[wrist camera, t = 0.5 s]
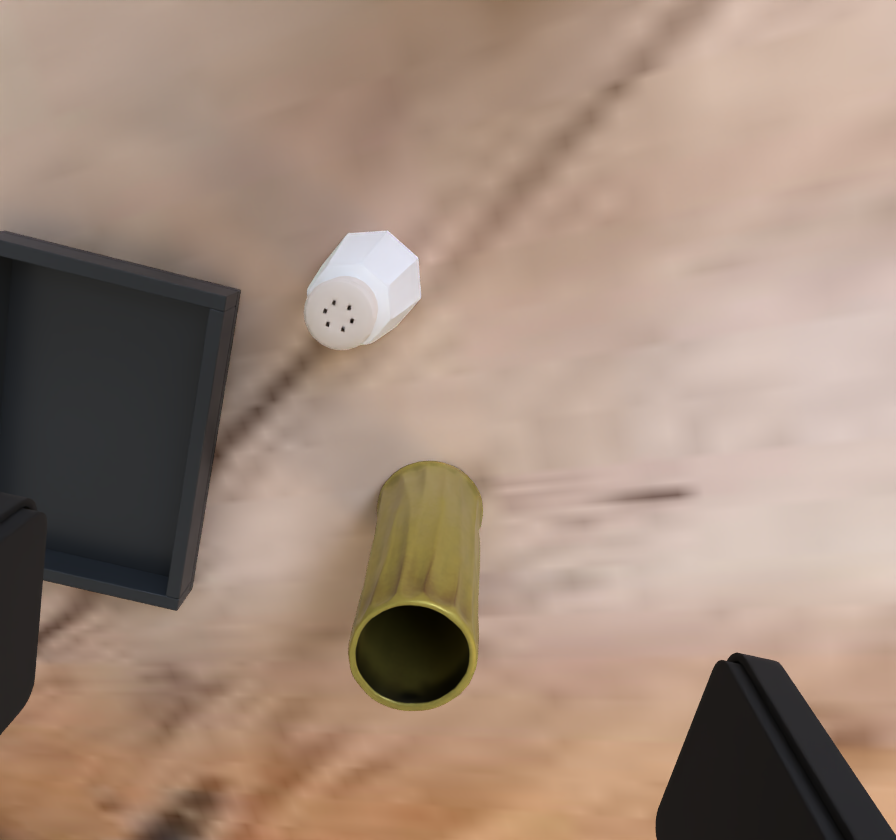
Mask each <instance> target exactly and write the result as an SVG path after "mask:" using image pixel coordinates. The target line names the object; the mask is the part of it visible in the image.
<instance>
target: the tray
mask: <svg viewBox="0 0 896 840" xmlns="http://www.w3.org/2000/svg"><path fill="white" fill-rule="evenodd" d="M240 292H241V290H239V289H235V288H231V287H227V286H223V285H219V284H215V283H211V282H207V281H203V280H199V279H195V278H191V277H187V276H183V275H179V274H175V273H171V272H167V271H163V270H159V269H155V268H151V267H147V266H143V265H139V264H135V263H131V262H127V261H123V260H119V259H115V258H111V257H107V256H103V255H99V254H95V253H91V252H88V251H84V250H80V249H76V248H72V247H68V246H64V245H60V244H56V243H52V242H48V241H44V240H40V239H36V238H32V237H28V236H24V235H20V234H16V233H12V232H8V231H0V492H3V493H7V494H12V495H16V496H21V497H26V498H30V499H32V500H33V501H34V502H35V503H36V507H37V511H39V512H43V513H44V514H45V515H46V517H47V535H46V548H45V560H44V572H43V580H44V581H49V582H53V583H58V584H62V585H66V586H71V587H75V588H79V589H84V590H88V591H93V592H97V593H101V594H106V595H110V596H114V597H119V598H123V599H128V600H132V601H136V602H141V603H145V604H149V605H154V606H158V607H163V608H167V609H171V610H176V611H177V610H178V609H179V607H180V606H181V604H182V603H183V601H184V600H185V598H186V597H187V595H188V594H189V592H190V591H191V590H192V587H193V581H194V575H195V569H196V562H197V556H198V550H199V544H200V538H201V532H202V526H203V519H204V513H205V507H206V501H207V495H208V489H209V483H210V477H211V470H212V464H213V458H214V452H215V446H216V440H217V434H218V427H219V421H220V415H221V409H222V403H223V397H224V391H225V384H226V378H227V372H228V366H229V360H230V354H231V348H232V341H233V335H234V329H235V323H236V317H237V311H238V305H239V298H240Z"/></svg>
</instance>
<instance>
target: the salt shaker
mask: <svg viewBox="0 0 896 840" xmlns="http://www.w3.org/2000/svg"><path fill="white" fill-rule="evenodd" d="M420 299H421V286H420V272H419V258H418V257H417V256H416V255H415V254H414V253H412V252H411V251H410V250H409V249H408V248H407V247H406V246H405V245H404V244H402V243H401V242H400V241H399V240H398V239H397V238H396V237H395V236H393V235H392V234H391V233H390V232H389V231H373V232H357V233H348V234H347V235H346V236H345V237H344V238H343V240H342V241H341V242H340V243H339V245H338V246H337V247H336V248H335V249H334V251H333V252H332V253H331V254H330V256H329V257H328V258H327V259H326V261H325V262H324V263H323V264H322V266H321V268H320V269H319V271H318V272H317V274H316V276H315V277H314V279H313V280H312V282H311V284H310V285H309V287H308V289H307V300H306V302H305V307H304V319H305V323H306V326H307V328H308V331H309V332H310V334H311V335H312V336H313V338H314V339H315V340H317V341H318V342H319V343H320V344H322V345H324V346H326V347H328V348H330V349H335V350H349V349H352V348H355V347H357V346H359V345H366V344H371V343H373V342H375V341H376V340H378V339H379V338H380V337H382V336H383V335H385V334H386V333H388V332H389V331H391V330H392V329H394V328H395V327H396V326H397V325H398V324H399V323H400V322H401V321H402V320H403V318H404V317H405V316H406V315H407V314H408V313H409V311H410V310H411V309H412V308H413V307H414V306H415V305H416V303H417V302H418V301H419V300H420Z"/></svg>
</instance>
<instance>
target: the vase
mask: <svg viewBox="0 0 896 840" xmlns="http://www.w3.org/2000/svg"><path fill="white" fill-rule="evenodd" d="M482 516H483V506H482V500H481V496H480V493H479V491H478V489H477V487H476V486H475V484H474V483H473V482H472V481H471V479H470V478H469V477H468V476H467V475H466V474H464V473H463V472H462V471H461V470H459V469H457V468H455V467H454V466H451V465H448V464H445V463H441V462H436V461H423V462H417V463H413V464H410V465H407V466H405V467H403V468H401V469H400V470H398V471H397V472H395V473H394V474H393V475H392V476H391V477H390V478H389V479H388V480H387V481H386V483H385V484H384V485H383V487H382V489H381V492H380V495H379V499H378V504H377V523H376V529H375V535H374V539H373V543H372V546H371V551H370V555H369V560H368V565H367V570H366V575H365V581H364V585H363V589H362V592H361V595H360V599H359V603H358V607H357V612H356V616H355V619H354V623H353V627H352V632H351V636H350V640H349V648H348V655H349V663H350V669H351V672H352V675H353V677H354V679H355V680H356V682H357V683H358V684H359V685H360V687H361V688H362V689H363V690H364V691H365V692H366V694H368V695H369V696H370V697H371V698H372V699H374V700H375V701H377V702H378V703H381V704H383V705H385V706H387V707H390V708H393V709H397V710H403V711H423V710H429V709H433V708H436V707H439V706H441V705H444V704H446V703H447V702H449V701H451V700H452V699H454V698H455V697H457V696H458V695H460V694H461V692H462V691H463V690H464V689H465V688H466V687H467V686H468V685H469V683H470V681H471V679H472V676H473V674H474V672H475V669H476V665H477V659H478V644H479V624H478V594H479V569H480V538H479V529H480V527H481V523H482Z"/></svg>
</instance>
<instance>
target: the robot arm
mask: <svg viewBox="0 0 896 840" xmlns="http://www.w3.org/2000/svg"><path fill="white" fill-rule="evenodd" d="M46 535H47V517H46V515H45V514H44V513H43V512H39V511H37V507H36V503H35V502H34V501H33V500H32V499H30V498H26V497H21V496H16V495H12V494H7V493H3V492H0V735H1V734H2V732H3V731H4V730H5V729H6V728H7V727H8V725H9V724H10V723H11V722H12V721H13V720H14V718H15V717H16V716H17V715H18V714H19V713H20V711H21V710H22V709H23V707H24V706H25V704H26V703H27V701H28V699H29V697H30V694H31V692H32V689H33V685H34V680H35V669H36V657H37V645H38V633H39V621H40V609H41V596H42V584H43V572H44V560H45V548H46ZM656 837H657V840H896V835H895V833H894V832H893V830H892V829H891V827H890V826H889V824H888V823H887V821H886V820H885V818H884V817H883V815H882V814H881V812H880V811H879V810H878V808H877V807H876V805H875V804H874V802H873V801H872V799H871V798H870V796H869V795H868V793H867V792H866V790H865V789H864V787H863V786H862V784H861V783H860V781H859V780H858V778H857V777H856V775H855V774H854V772H853V771H852V769H851V768H850V766H849V765H848V763H847V762H846V760H845V759H844V757H843V756H842V754H841V753H840V751H839V750H838V748H837V747H836V746H835V744H834V743H833V741H832V740H831V738H830V737H829V735H828V734H827V732H826V731H825V729H824V728H823V726H822V725H821V723H820V722H819V720H818V719H817V717H816V716H815V714H814V713H813V711H812V710H811V708H810V707H809V705H808V704H807V702H806V701H805V699H804V698H803V696H802V695H801V693H800V692H799V690H798V689H797V687H796V686H795V684H794V683H793V682H792V680H791V679H790V677H789V676H788V674H787V673H786V671H785V670H784V668H783V667H782V666H781V665H780V663H779V662H777V661H773V660H769V659H764V658H759V657H755V656H750V655H746V654H741V653H734V654H732V655H731V656H730V657H729V658H728V660H727V661H724V660H720V661H718V662H717V663H716V664H715V666H714V668H713V670H712V673H711V675H710V678H709V680H708V683H707V685H706V688H705V691H704V693H703V696H702V698H701V701H700V703H699V706H698V708H697V711H696V713H695V716H694V719H693V721H692V724H691V726H690V729H689V731H688V734H687V736H686V739H685V742H684V744H683V747H682V749H681V752H680V754H679V757H678V759H677V762H676V765H675V767H674V770H673V772H672V775H671V777H670V780H669V782H668V785H667V787H666V790H665V793H664V795H663V798H662V800H661V803H660V805H659V808H658V811H657V816H656Z"/></svg>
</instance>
